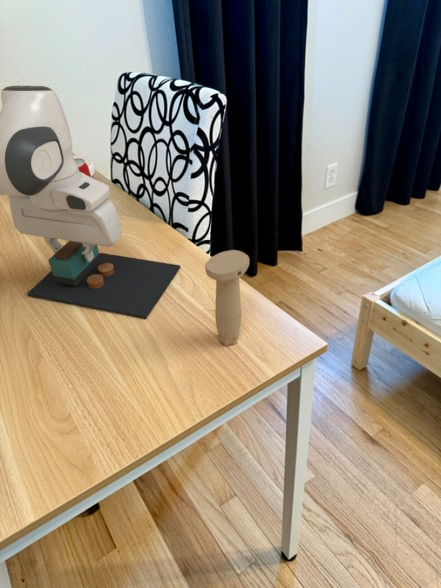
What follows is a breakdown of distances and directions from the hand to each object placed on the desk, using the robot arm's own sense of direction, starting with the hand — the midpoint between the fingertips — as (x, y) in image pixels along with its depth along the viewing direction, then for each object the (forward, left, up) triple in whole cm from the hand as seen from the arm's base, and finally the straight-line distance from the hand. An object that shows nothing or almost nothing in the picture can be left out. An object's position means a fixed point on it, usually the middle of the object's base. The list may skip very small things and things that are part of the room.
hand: (75, 257), depth 81 cm
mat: (+6, 0, -4) cm, 7 cm away
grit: (+5, +2, -4) cm, 6 cm away
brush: (0, 0, -3) cm, 3 cm away
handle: (+33, -9, -5) cm, 34 cm away
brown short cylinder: (+5, -2, -4) cm, 6 cm away
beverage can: (-9, +19, -5) cm, 22 cm away
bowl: (-23, +33, -5) cm, 41 cm away
